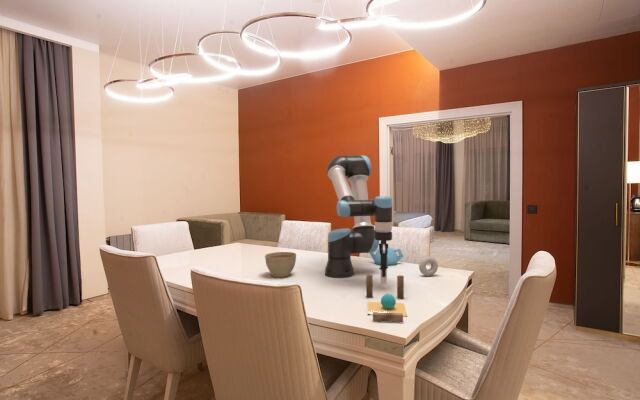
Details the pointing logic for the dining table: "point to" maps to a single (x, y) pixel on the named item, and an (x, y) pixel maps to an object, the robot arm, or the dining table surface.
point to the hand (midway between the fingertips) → (383, 283)
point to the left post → (369, 286)
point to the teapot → (391, 256)
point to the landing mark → (396, 309)
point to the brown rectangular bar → (388, 317)
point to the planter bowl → (280, 263)
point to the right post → (400, 287)
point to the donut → (424, 262)
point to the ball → (388, 301)
